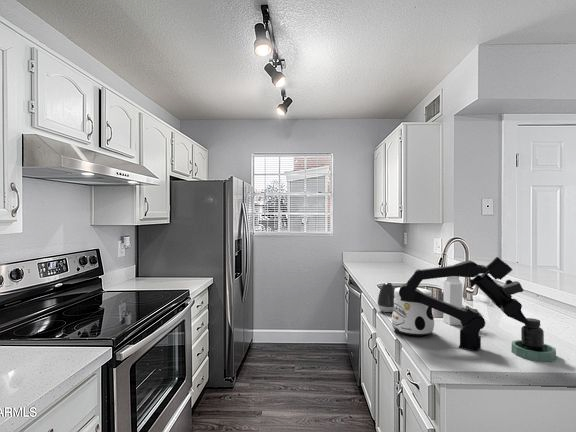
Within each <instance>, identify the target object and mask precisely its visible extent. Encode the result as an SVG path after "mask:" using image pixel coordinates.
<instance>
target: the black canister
mask: <svg viewBox="0 0 576 432" xmlns="http://www.w3.org/2000/svg"><path fill="white" fill-rule="evenodd" d="M394 290H395V287H394V286H393V284H392V282H385V283H383V284H382V285H381V287H380V290H379V293H378V296H377V297H378V298H377V306H378V309H379V310H380V311H381V312H383V313H385V312H392V313H393V311H394Z"/></svg>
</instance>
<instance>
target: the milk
mask: <svg viewBox="0 0 576 432" xmlns="http://www.w3.org/2000/svg"><path fill="white" fill-rule="evenodd" d="M443 301H444V302H446V303H449V304H451V305H454V306H456V307H459V308H463V283H462V281H461V280H460V277H458V276H450V277H446V279H445V280H444V281H443ZM442 313H443V312H442ZM460 322H461V321H460V320H459V319H457V318H455V317H453V316H450V315H448V314H445V313H443V323H446V324H448V325H450V326H454V325H455V326H457V325H459V326H461V324H460Z"/></svg>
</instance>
